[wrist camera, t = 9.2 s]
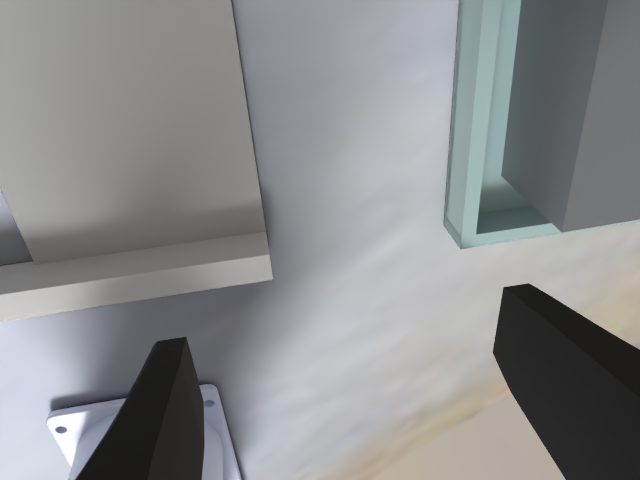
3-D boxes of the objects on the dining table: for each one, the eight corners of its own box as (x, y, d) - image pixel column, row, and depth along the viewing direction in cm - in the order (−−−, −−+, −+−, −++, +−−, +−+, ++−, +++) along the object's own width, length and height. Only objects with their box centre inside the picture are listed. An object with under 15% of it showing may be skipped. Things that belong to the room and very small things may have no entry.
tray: (628, 198, 23) (658, 218, 22) (443, 225, 22) (460, 249, 21) (724, -135, 17) (777, -141, 15) (467, -114, 16) (494, -117, 14)
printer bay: (269, 251, 22) (278, 322, 18) (-110, 308, 20) (-186, 397, 16) (217, -93, 15) (215, -96, 11) (-353, -45, 14) (-573, -30, 10)
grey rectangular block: (603, 159, 21) (684, 211, 18) (501, 176, 21) (561, 232, 17) (655, -65, 17) (778, -59, 13) (526, -50, 17) (616, -39, 13)
